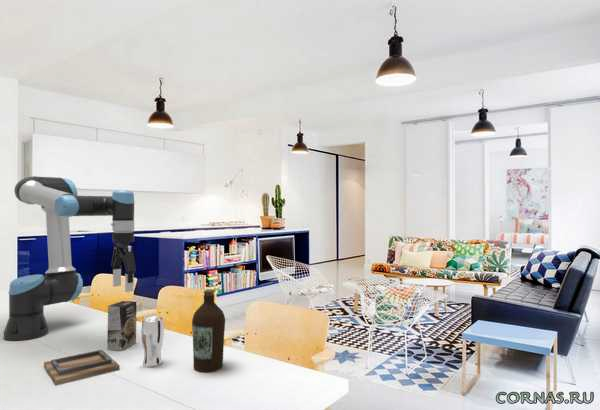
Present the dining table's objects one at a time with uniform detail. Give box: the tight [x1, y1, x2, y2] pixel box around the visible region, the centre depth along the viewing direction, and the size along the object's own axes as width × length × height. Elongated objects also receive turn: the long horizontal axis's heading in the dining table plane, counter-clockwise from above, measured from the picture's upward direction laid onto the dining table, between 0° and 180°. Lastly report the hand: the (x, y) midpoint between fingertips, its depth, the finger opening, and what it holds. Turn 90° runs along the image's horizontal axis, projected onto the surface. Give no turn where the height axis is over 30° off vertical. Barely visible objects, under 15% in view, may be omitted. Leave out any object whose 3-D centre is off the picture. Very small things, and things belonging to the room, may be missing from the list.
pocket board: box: [43, 349, 120, 386], centre depth 135 cm, size 18×18×3 cm
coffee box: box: [106, 300, 137, 352], centre depth 156 cm, size 9×6×16 cm
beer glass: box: [141, 316, 165, 368], centre depth 140 cm, size 7×7×15 cm
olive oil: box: [191, 289, 226, 373], centre depth 138 cm, size 11×11×25 cm
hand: (123, 288), depth 156 cm, fingers open, 13 cm apart
